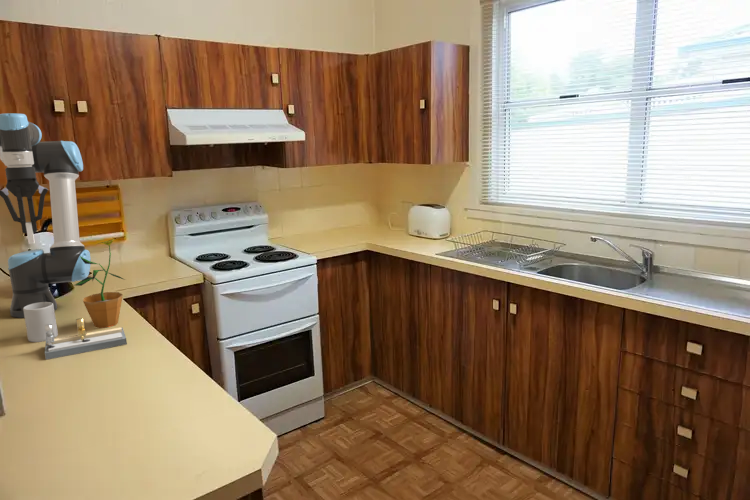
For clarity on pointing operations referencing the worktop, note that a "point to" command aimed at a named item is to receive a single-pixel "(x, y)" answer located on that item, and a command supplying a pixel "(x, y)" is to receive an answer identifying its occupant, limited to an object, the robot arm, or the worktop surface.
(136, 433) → the worktop surface
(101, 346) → the board
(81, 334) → the brass slider pointer
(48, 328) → the fixed leg
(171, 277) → the worktop surface
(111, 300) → the potted plant
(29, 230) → the robot arm
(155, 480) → the worktop surface
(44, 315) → the mug
